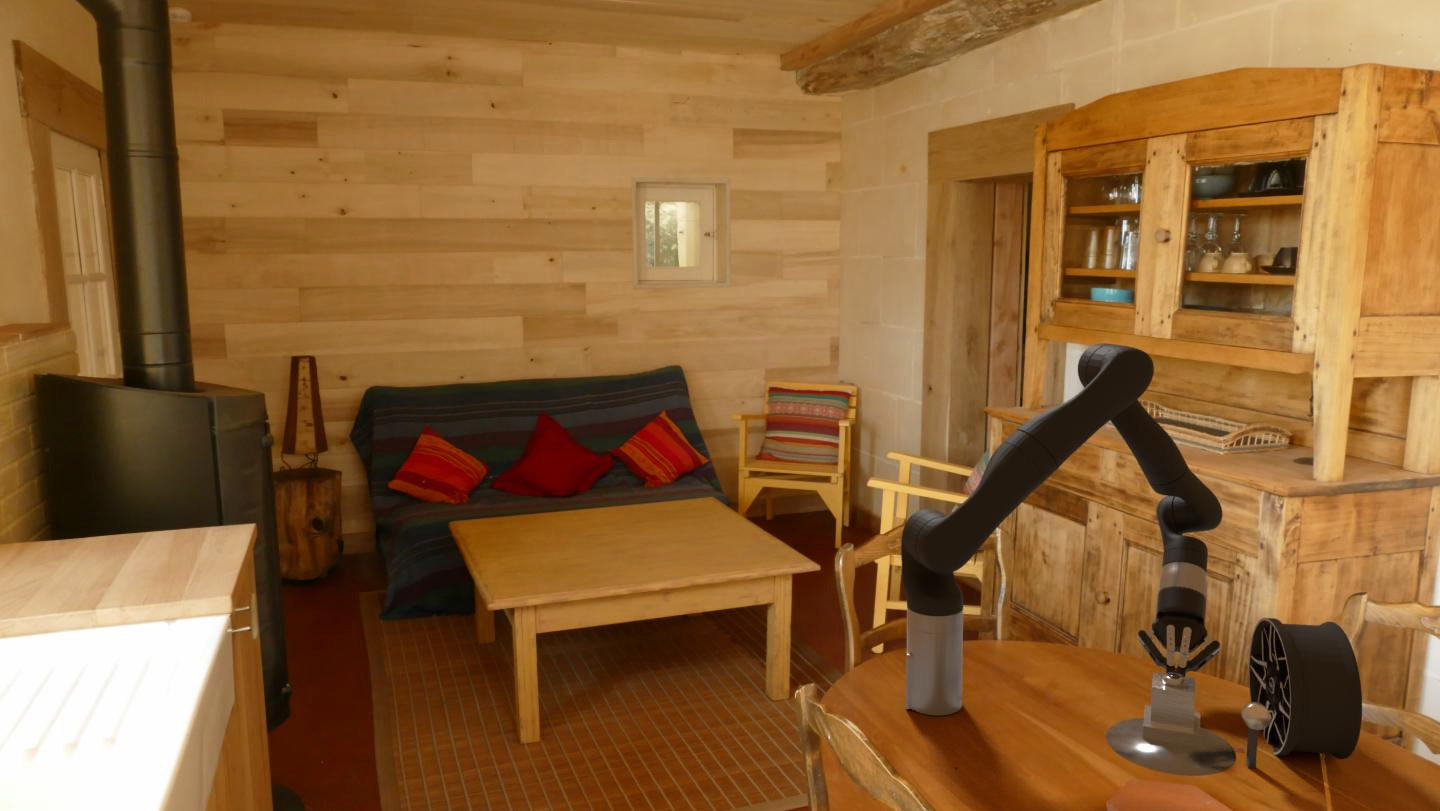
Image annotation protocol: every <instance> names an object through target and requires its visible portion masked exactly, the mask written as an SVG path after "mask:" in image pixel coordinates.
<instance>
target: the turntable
mask: <svg viewBox="0 0 1440 811" xmlns="http://www.w3.org/2000/svg"><path fill="white" fill-rule="evenodd" d="M1143 721H1144V717H1138V718H1129V719H1125V720H1122V721H1119V722H1116V723H1115V724H1112V725H1111V726H1109V728H1108V730H1107V731H1106V736H1105V739H1106V742H1107V744H1108V745H1109V747H1110V749H1112V751H1114V752H1115V753H1117V755H1119V757H1120V756H1121V757H1122V758H1123V759H1125V760H1128V761H1129V762H1131V763H1132V764H1136V765H1137V766H1140V767H1144V768H1147V769H1148V770H1153V771H1156V772H1160V773H1161V772H1162V773H1166V774H1171V775H1179V776H1209V775H1214V774H1218V773H1222V772H1224V771H1227V770H1228V769H1230V768H1231V767H1233V765H1234V764H1235V762H1236V760H1237V756H1236V755H1237V754H1236V753H1246V751H1245V750H1244V747H1243V748H1242V747H1233V746H1232V745H1231V744H1230V743H1229V742H1228V741H1227V740H1225V739H1224V738H1223V737H1221V736H1219V735H1218V734H1216V733H1214V732H1213V731H1211V730H1208V729H1206V728H1204V727H1201V726H1200V748H1199V747H1193V746H1187V745H1181V744H1175V743H1169V742H1163V741H1156V740H1150V739H1144V738H1142V737H1143Z"/></svg>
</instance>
